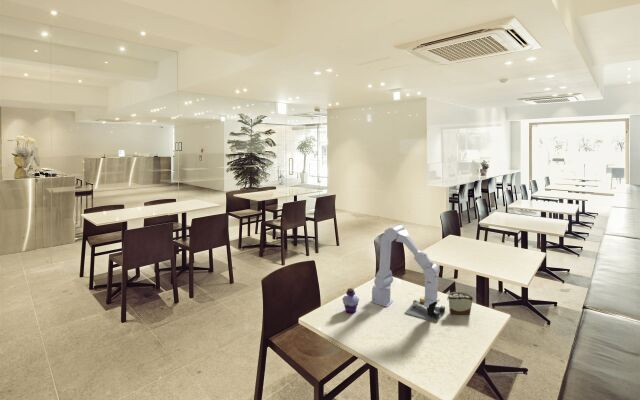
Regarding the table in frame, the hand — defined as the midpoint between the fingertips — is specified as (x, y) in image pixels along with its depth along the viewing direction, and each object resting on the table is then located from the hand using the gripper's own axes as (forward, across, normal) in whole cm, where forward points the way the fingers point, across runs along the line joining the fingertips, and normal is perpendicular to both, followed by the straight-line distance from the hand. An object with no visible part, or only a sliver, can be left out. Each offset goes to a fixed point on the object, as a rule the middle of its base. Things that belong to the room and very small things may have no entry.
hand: (430, 315), depth 161 cm
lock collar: (-2, +9, +7) cm, 11 cm away
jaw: (+1, +4, +4) cm, 6 cm away
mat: (+2, +4, +4) cm, 6 cm away
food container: (+2, +13, -10) cm, 17 cm away
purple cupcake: (+2, -15, +36) cm, 39 cm away
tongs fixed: (+1, +9, +4) cm, 9 cm away
